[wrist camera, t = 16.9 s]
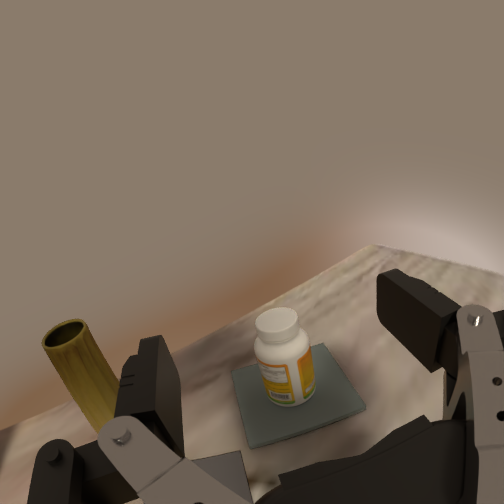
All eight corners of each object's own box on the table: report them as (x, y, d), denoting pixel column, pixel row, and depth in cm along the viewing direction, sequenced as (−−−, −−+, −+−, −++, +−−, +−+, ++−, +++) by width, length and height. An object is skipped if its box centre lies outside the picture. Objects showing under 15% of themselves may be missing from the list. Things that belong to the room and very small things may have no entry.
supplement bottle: (305, 367, 35) (293, 296, 31) (324, 396, 30) (315, 323, 26) (261, 383, 34) (241, 313, 31) (275, 415, 29) (255, 344, 26)
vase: (122, 407, 34) (69, 312, 29) (157, 421, 31) (101, 320, 26) (93, 438, 29) (28, 343, 24) (127, 457, 26) (55, 357, 21)
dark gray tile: (145, 551, 15) (144, 550, 15) (145, 468, 25) (144, 467, 25) (262, 538, 17) (261, 538, 16) (240, 451, 26) (239, 450, 26)
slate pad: (250, 449, 26) (249, 446, 26) (232, 374, 37) (230, 371, 37) (365, 409, 27) (366, 405, 27) (323, 346, 38) (322, 342, 38)
